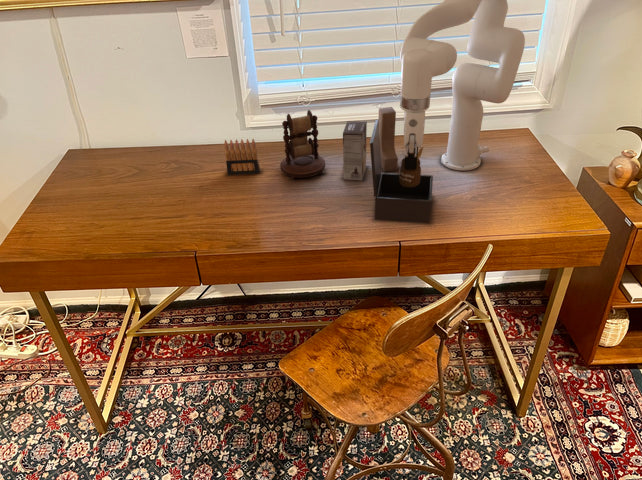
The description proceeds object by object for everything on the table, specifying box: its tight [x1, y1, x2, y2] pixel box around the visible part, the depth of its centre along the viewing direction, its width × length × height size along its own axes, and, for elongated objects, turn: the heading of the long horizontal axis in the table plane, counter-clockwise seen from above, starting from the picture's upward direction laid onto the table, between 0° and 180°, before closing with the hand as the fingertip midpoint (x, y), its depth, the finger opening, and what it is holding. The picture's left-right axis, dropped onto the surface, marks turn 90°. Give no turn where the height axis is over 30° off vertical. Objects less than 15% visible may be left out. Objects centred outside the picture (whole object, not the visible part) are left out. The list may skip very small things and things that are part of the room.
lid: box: [369, 119, 383, 198], centre depth 152 cm, size 16×14×1 cm
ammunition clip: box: [224, 138, 261, 176], centre depth 177 cm, size 11×2×12 cm, turn 90°
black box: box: [374, 172, 434, 224], centre depth 158 cm, size 15×14×7 cm
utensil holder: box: [398, 145, 424, 187], centre depth 151 cm, size 6×6×12 cm
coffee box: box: [342, 120, 368, 181], centre depth 172 cm, size 9×6×16 cm
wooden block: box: [377, 106, 399, 172], centre depth 175 cm, size 9×4×18 cm, turn 10°
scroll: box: [279, 109, 326, 181], centre depth 174 cm, size 15×15×20 cm
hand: (411, 163), depth 151 cm, fingers closed on utensil holder, 5 cm apart
